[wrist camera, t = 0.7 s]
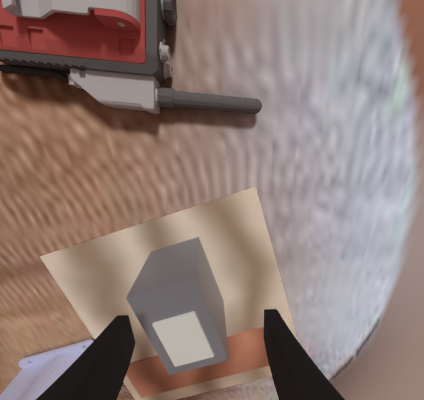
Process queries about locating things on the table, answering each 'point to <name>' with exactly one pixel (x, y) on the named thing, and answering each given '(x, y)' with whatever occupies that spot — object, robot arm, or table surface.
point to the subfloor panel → (223, 273)
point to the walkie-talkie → (102, 51)
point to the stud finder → (181, 307)
